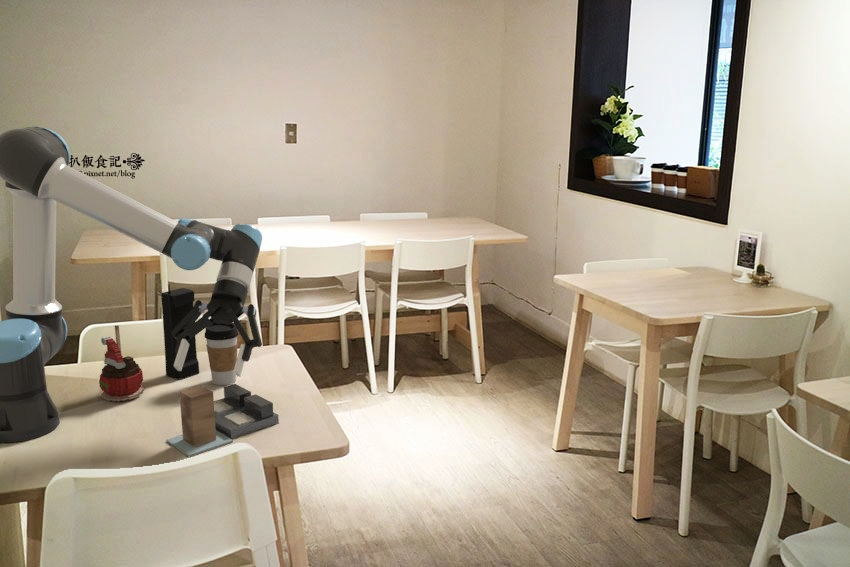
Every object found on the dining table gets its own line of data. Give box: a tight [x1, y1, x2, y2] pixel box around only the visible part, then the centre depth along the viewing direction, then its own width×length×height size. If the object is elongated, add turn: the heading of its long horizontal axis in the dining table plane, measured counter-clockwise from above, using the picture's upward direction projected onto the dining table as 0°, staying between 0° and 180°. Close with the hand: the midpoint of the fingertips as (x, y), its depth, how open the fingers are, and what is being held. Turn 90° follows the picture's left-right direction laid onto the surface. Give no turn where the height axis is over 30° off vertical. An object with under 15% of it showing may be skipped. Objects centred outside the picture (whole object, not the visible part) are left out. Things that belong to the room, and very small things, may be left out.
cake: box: [98, 324, 145, 402], centre depth 185 cm, size 11×9×18 cm
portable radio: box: [160, 284, 200, 380], centre depth 199 cm, size 8×6×25 cm
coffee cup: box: [204, 322, 240, 386], centre depth 195 cm, size 8×8×15 cm
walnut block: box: [178, 384, 216, 447], centre depth 162 cm, size 5×5×11 cm
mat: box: [166, 430, 234, 458], centre depth 163 cm, size 10×10×1 cm
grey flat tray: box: [214, 383, 280, 440], centre depth 174 cm, size 17×12×5 cm
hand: (206, 371), depth 165 cm, fingers open, 13 cm apart
